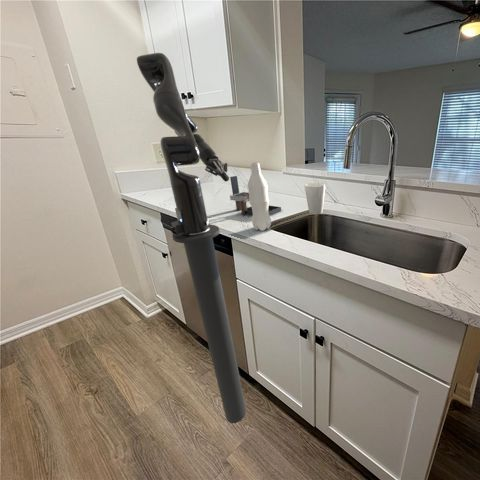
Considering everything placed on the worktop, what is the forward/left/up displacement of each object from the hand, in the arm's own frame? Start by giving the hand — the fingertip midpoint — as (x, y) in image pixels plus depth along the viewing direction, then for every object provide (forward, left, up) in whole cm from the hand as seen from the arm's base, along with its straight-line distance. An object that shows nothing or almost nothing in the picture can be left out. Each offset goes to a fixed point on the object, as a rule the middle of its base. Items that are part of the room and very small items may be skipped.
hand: (227, 180), depth 127 cm
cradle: (+3, -10, -14) cm, 17 cm away
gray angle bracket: (+3, -10, -9) cm, 13 cm away
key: (+3, -9, -8) cm, 12 cm away
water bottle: (-6, -39, -14) cm, 42 cm away
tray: (+6, -19, -14) cm, 24 cm away
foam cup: (+23, -39, -14) cm, 47 cm away
